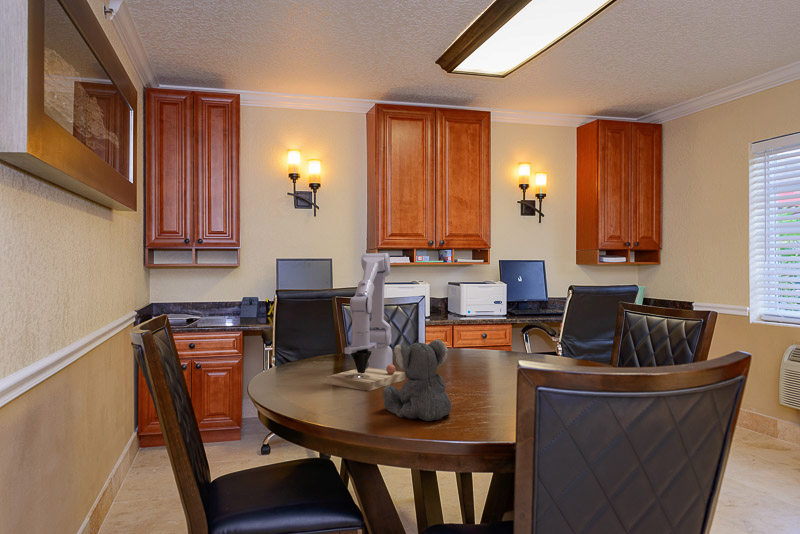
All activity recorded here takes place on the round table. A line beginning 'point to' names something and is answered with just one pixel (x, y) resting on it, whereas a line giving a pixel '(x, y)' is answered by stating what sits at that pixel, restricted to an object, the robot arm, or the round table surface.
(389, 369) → the brick-red wooden ball
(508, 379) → the round table surface
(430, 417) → the koala plush
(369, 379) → the plate
